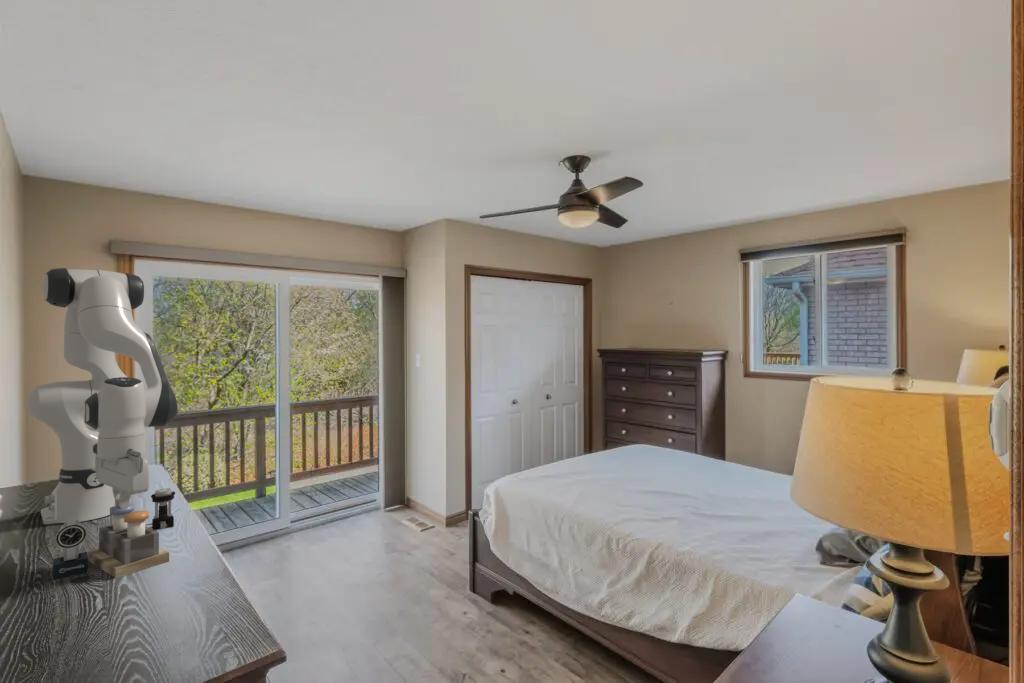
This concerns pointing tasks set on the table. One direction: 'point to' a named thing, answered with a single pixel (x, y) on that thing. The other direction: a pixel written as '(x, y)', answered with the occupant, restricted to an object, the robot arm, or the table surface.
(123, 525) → the knob
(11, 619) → the table surface
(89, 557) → the mount
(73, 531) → the watch
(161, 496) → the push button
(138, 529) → the knob
